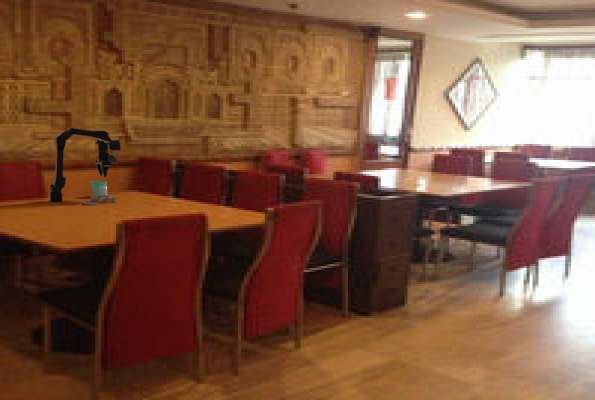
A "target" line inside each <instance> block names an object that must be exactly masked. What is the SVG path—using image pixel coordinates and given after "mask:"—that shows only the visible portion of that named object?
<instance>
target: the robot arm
mask: <svg viewBox="0 0 595 400" xmlns="http://www.w3.org/2000/svg"><path fill="white" fill-rule="evenodd" d="M75 135H76V136H85V137H91V138H95V139H96V140H95V142H94V144H97V153H96V154H97V158H95V159H94V164H95V167H96V169H97V172H98V174H99V175H100V176H103V177H105V178H106V177H107V175H108V170H109V169H110V168H111V167H112V166H113V164H116V163H117V161H118V157H115V156H114V155H113V154H110V152H120V151H121V148H122V145H121V142H120V139H111V137H110V136H109V135H110V134H109V133H108V131H107V130H101V129H100V130H99V129H98V130H89V129H81V128H75V127H68V129H66V130H65V131H64V132H61V133H60V134H57V135H55V136H54V138H53V142H54V143H53V144H54V147H55V150H56V151H55V172H54V176H53V180H52V184H51V185H49V186H48V190H49V191H48V192H49V194H48V195H49V196H48V198H49V200H48V202H50V203H62V202H63V193H62V190H63V189H64V188H65V186H66V185H67V182H66V180H67V177H66V176H64V174H63V173H64V172H63V171H64V170H63V169H64V150H65V147H66V144H67V141H68V140H69V139H71V137H72V136H75ZM108 151H110V152H108Z"/></svg>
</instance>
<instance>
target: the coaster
mask: <svg viewBox="0 0 595 400" xmlns="http://www.w3.org/2000/svg"><path fill="white" fill-rule="evenodd" d="M81 205H82V206H97V205H99V203H97V202H92V201H85V202H82V203H81Z"/></svg>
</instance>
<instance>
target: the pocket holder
mask: <svg viewBox="0 0 595 400" xmlns="http://www.w3.org/2000/svg"><path fill="white" fill-rule="evenodd" d="M92 201H93V202H97V203H98V204H110V203H113V204H114V203H115V204H116V203H117V197H116V196H114V195H111V194H109V195H108V194H107V197H103V198H100V196H94V195H90V202H92Z"/></svg>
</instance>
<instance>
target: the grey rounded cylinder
mask: <svg viewBox="0 0 595 400" xmlns="http://www.w3.org/2000/svg"><path fill="white" fill-rule="evenodd" d="M107 195H108V186H106V187H100V198H103V197H107Z"/></svg>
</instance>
